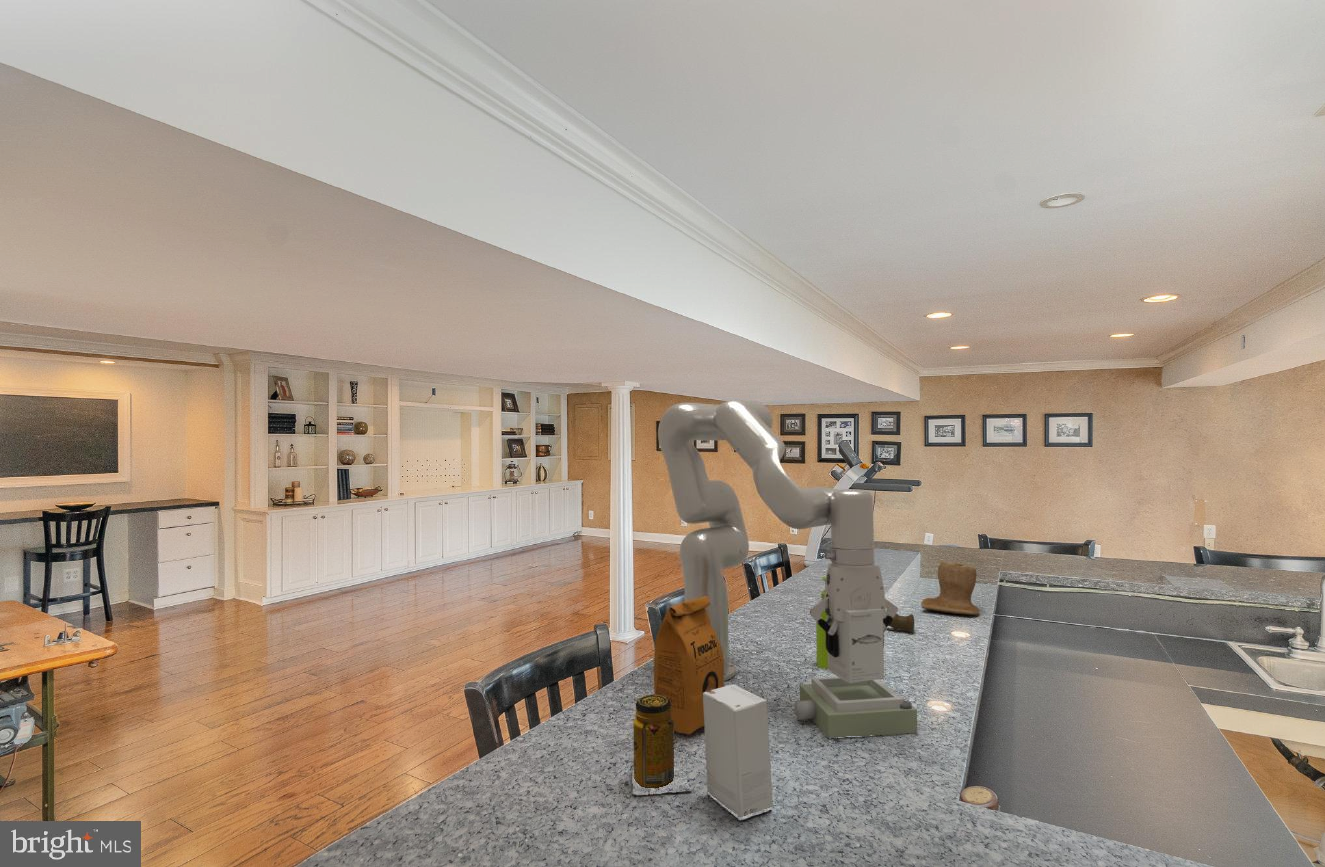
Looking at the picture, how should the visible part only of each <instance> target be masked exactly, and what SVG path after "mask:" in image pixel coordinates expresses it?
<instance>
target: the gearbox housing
mask: <svg viewBox="0 0 1325 867" xmlns="http://www.w3.org/2000/svg"><path fill="white" fill-rule="evenodd" d="M810 682H811V683H805V684H799V700H795V702H794V714H795V717H796V718H797V720H809V719H811V721H812V722H813V723H814V722H815V723H816V724H815V723H814V724H815V725H816V726H817V727H818V729H819V730H820V729H821V730H822V731H823V732H824V733H825V734H824V733H823V732H822V731H821V730H820V731H821V732H822V733H823V734H824V736H828V738H836V737H837V738H838V737H846V736H868V737H871V736H870V735H882V736H893V735H895V736H896V735H905V734H906V733H909V734H918V709H917V708H916V707H914V706H913V704H912V702H911V701H909V700H905V699H904V698H903V697H902V696H900V695H899V694H898V693H896V692H895V691H894V690H893V689H891V688H890V687H888V686H887V685H886V684H884V682H882V681H881V680H880V679H877V680H868V681H860V682H854V683H850V684H849V683H847V682H846V681H844V680H843V679H841V678H839V677H838V676H825V677H824V676H823V677H812V678H811V681H810ZM906 735H907V734H906ZM828 738H827V739H828Z"/></svg>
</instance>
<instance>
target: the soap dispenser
mask: <svg viewBox="0 0 1325 867" xmlns="http://www.w3.org/2000/svg"><path fill="white" fill-rule="evenodd" d="M821 579H822V581H823V582H824V584H825V583H826V576H822V577H821ZM824 598H825V589H824V590H822V591H821V601H822V600H823V599H824ZM821 617H822V618H823V620H825V621H826V620H827V615H826V613H825V610H824V611H823V612H822V613H821ZM815 624H816V625H815V626H816V628H815V629H816V632H815V633H816V638H815V639H816V666H817V665H818V666H819V668H820V669H823V668H826V669H825V670H827V669H828V651H827V650H826V632H825V631H824V630H823V629H822V628H821V627H820V626H819V625H818V624H817V623H816V622H815ZM818 666H817V667H818Z"/></svg>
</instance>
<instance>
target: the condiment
mask: <svg viewBox="0 0 1325 867" xmlns="http://www.w3.org/2000/svg"><path fill="white" fill-rule="evenodd" d="M632 729H633V770H634V779H635V781H636V782H637V783H638V784H639V785H640V786H641V787H645V788H659V787H663V786H666V785H668V784H669V783H671V782H672V781H673V778H674V767H675V731H674V721H673V718H672V716H671V702H670V700H669V699H668V698H667V697H665V696H661V695H654V694H647V695H644V696H640V697H639V698H638V699H637V700H636V703H635V717H634V719H633V728H632Z"/></svg>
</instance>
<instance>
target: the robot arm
mask: <svg viewBox="0 0 1325 867" xmlns="http://www.w3.org/2000/svg"><path fill="white" fill-rule="evenodd" d="M773 421H774V420H773V415H772V413H771V411H770V409H769V408H768V407H767V406H766V405H764V404H763V403H762V402H758V401H756V400H755V401H754V400H747V399H746V400H743V399H729V400H726V401H724V402H722V403H720V404H713V403H712V404H711V403H710V404H709V403H702V402H701V403H700V402H680V403H676V404H674V405H672V406H670V407H669V408H667V410H665V412H664V413H663V415H662V417H661V418H660V421H659V425H658V431H657V438H658V443H659V447H660V450H661V454H662V457H663V459H664V461H665V465H666V467H667V468H666V469H667V471H668V478H669V483H670V487H671V490H672V494H673V499H674V504H675V508H676V511H677V515H678V516H679V518H680V520H681V521H683V522H684V523H687V524H689V525H690V524H691V525H694V524H695V525H696V524H705V523H708V524H709V527H706V528H699V529H696V530H693V531H691V532H690V533H687V535H686V536H684V537H683V539H682V541H681V544H680V547H679V557H680V558H679V559H680V563H681V569H682V574H683V580H684V581H683V583H684V602H686V601H690V600H693V599H697V598H701V597H704V596H707V597H708V599H709V601H710V605H709V606H708V607H705V610H706V611H707V612H708V616H709V619H710V623H711V626H712V627H713V629H714V630H715V633H716V635H717V637H718V640H719V643H720V645H721V648H722V653H723V658H724V682H725V681H728V680H730V679H732V678H734V676H736V674H737V668H736V665H735V664H733V663H732V662H730V661H729V658H730V657H729V656H730V655H729V654H730V653H729V652H730V651H729V600H728V599H729V596H728V593H729V592H728V587H727V583H726V581H725V579H724V576H723V574H722V570H725V569H729V568H734V567H736V566H738V565H740V564H742V563H743V562H744V561H745V560H746V559H747V557H748V555H749V548H750V545H749V542H750V541H749V537H748V533H747V529H746V524H745V521H744V517H743V513H742V509H741V505H740V502H739V497H738V495H737V494H736V492H735V490H734V489H733V488H732V486H730V484H728V482H725V481H722V480H718V479H717V480H715V479H713V480H710V479H709V477H708V473H707V470H706V467H705V466H706V464H705V462H704V459H703V457H702V455H701V454H700V451H699V450H698V449H697V448H696V447H695V445H694V443H693V442H694V441H726V442H727V443H728V444H729V445H730V446H731V448H732V449H733V450H734V451H735V452H736V453H737V455H738V456H740V458H741V459H742V460H743V461H744V463H746V464H747V466H749V468H750V469H751V471H752V478H753V482H754V484H755V488H756V490H757V494H758V495H759V497H760V498H761V500H762V501H763V503H764V504H765V505H766V506H767V507H768V508H769V510H770V511H771V512H772V513H773V514H774V515H775V517H777V518H778V520H780V521H781V522H782V523H783V524H784V525H786V526H787V527H790V528H791V529H795V530H805V529H811V528H817V527H822V526H830V544H831V545H830V548H829V550H828V551H824V553H823V554H824V558H825V559H826V560H830V562H831V563H828V566H827V570H826V574H825V577H826V583H825V582H824V590H825V598H824V599H823V600H822V599H821V600H820V601H819V602H818V603H816V604H815V605H814V606H813V607H812V608H810V610H809V611H808V612H809V614H810V616H811V617H812V618H813V620H814V621H815V624H816V623H817V624H818V625H819V626H820V627H821V628H822V629H823V630H824V631H825V632H826V650H827V651H828V653H829V654H831V655H832V656H833V657H838V636H837V635H836V634H835V632H836V630H837V628H838V626H839V623H843V622H844V611H845V610H858V609H883V648H884V649H885V637H884V636H885V633H886V632H887V629H888V627H890V626H889V624H890V623H891V622H892V620H893V617H894V616H895V615H896V614H898V613H897V612H898V611H899V608H898V606H896V605H895V604H894V603H892V602H891V601H889V600H888V599H886V598H885V597H886V596H885V589H884V588H885V587H884V582H883V577H882V576H883V574H882V571H881V567H880V565H879V564H877V563H875V537H874V536H875V535H874V528H875V526H874V501H873V495H872V493H871V492H870V491H869V490H866V489H858V488H857V489H856V488H853V489H851V488H849V489H847V488H845V489H838V488H837V489H836V488H831V487H825V486H814V487H813V486H812V487H811V486H810V487H804V488H803V487H802V488H801V487H800V486H799V485H798V484H797V483H796V482H795V481H794V479H792V478H791V477H790V476H789V475H788V473H787V472H786V471H785V470H784V468H783V466H782V464H781V459H782V458H783V456H784V454H785V451H786V446H785V443H784V441H783V440H782V439H781V438H780V437H779V436H778V435H777V434H776V433H775V432H774V431H773V430H772V428H773V425H774V424H773V423H774V422H773ZM824 610H825V613H826V615H827V616H828V618H827V620H826V621H825V620H823V618H822V617H821V613H822V612H823V611H824ZM829 612H830V613H829Z"/></svg>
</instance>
